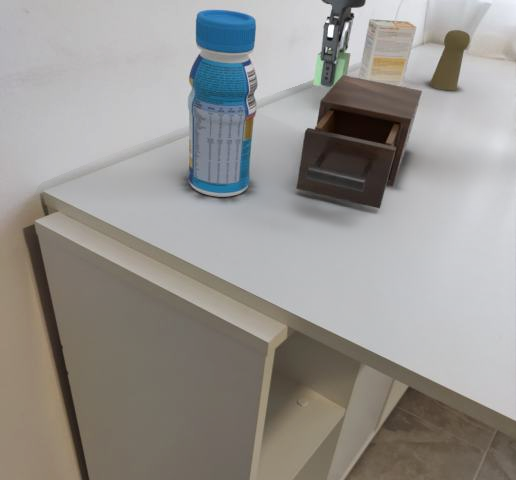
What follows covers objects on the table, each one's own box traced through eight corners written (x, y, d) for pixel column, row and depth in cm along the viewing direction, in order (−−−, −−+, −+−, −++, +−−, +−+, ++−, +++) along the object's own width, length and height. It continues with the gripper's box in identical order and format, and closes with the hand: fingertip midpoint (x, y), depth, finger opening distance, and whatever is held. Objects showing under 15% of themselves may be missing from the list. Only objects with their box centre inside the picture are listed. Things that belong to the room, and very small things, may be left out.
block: (319, 78, 101) (323, 48, 97) (345, 83, 100) (350, 53, 97) (313, 84, 97) (317, 54, 94) (339, 89, 96) (345, 59, 93)
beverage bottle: (205, 203, 68) (210, 25, 55) (176, 176, 73) (175, 7, 60) (261, 192, 72) (278, 23, 59) (230, 167, 77) (239, 6, 64)
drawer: (372, 228, 66) (388, 167, 61) (284, 206, 68) (292, 146, 63) (393, 170, 80) (408, 117, 75) (320, 154, 82) (329, 101, 77)
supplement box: (391, 91, 114) (408, 20, 105) (399, 98, 110) (417, 26, 102) (354, 89, 112) (369, 17, 104) (361, 97, 109) (377, 23, 100)
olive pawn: (455, 92, 118) (473, 36, 110) (427, 87, 119) (443, 31, 112) (457, 85, 122) (475, 31, 115) (431, 80, 123) (446, 26, 116)
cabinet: (392, 186, 78) (411, 118, 71) (309, 167, 80) (320, 100, 74) (405, 152, 88) (422, 90, 82) (331, 136, 91) (342, 75, 84)
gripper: (334, -37, 93) (319, 69, 104) (315, -30, 82) (300, 88, 94) (377, -31, 92) (356, 76, 103) (362, -23, 81) (341, 96, 92)
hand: (329, 81), depth 98 cm, fingers closed on block, 5 cm apart
